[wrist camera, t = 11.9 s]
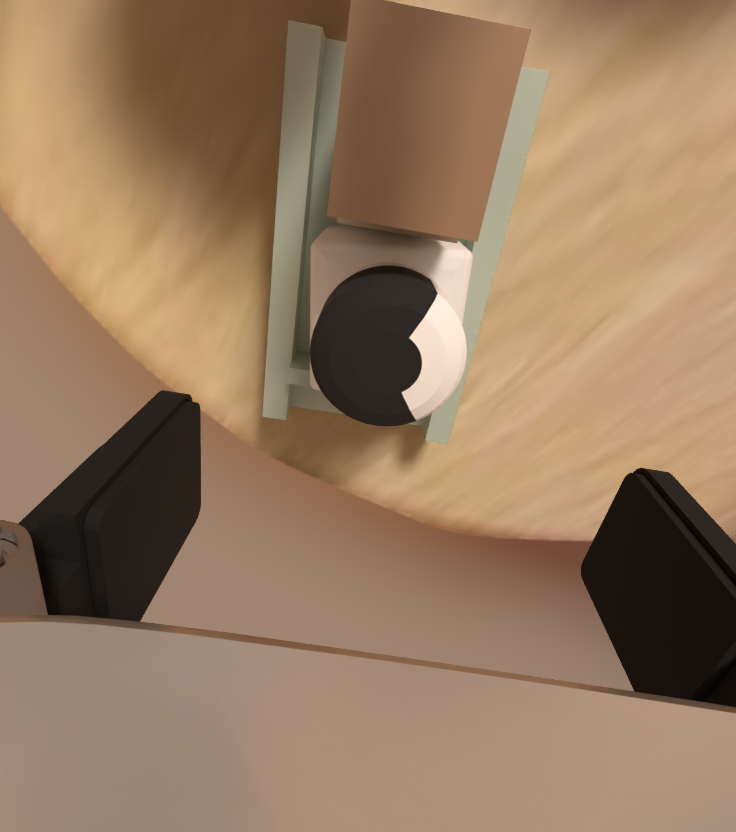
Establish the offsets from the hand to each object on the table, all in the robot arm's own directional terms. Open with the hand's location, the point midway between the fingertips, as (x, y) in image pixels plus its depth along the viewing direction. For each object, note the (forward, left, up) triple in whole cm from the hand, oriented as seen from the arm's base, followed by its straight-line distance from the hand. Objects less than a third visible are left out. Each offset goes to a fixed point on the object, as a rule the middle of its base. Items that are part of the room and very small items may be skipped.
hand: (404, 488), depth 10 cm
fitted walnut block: (+1, -7, -20) cm, 21 cm away
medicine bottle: (0, 0, -20) cm, 20 cm away
